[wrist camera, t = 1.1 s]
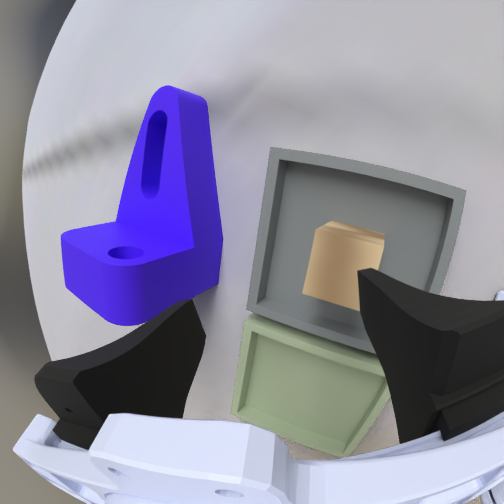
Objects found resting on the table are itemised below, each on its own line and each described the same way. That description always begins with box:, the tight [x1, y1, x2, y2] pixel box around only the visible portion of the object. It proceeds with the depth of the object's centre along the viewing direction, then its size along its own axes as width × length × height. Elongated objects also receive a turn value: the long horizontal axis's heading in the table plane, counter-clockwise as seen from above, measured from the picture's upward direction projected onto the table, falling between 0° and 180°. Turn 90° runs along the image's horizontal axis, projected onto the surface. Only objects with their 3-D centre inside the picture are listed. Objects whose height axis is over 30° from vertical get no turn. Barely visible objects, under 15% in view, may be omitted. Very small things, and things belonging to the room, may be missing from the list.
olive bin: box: [230, 312, 391, 458], centre depth 23 cm, size 14×13×2 cm
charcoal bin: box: [246, 147, 466, 354], centre depth 19 cm, size 14×13×2 cm
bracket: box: [61, 86, 223, 326], centre depth 21 cm, size 18×11×12 cm, turn 170°
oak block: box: [302, 220, 385, 311], centre depth 17 cm, size 4×4×5 cm
